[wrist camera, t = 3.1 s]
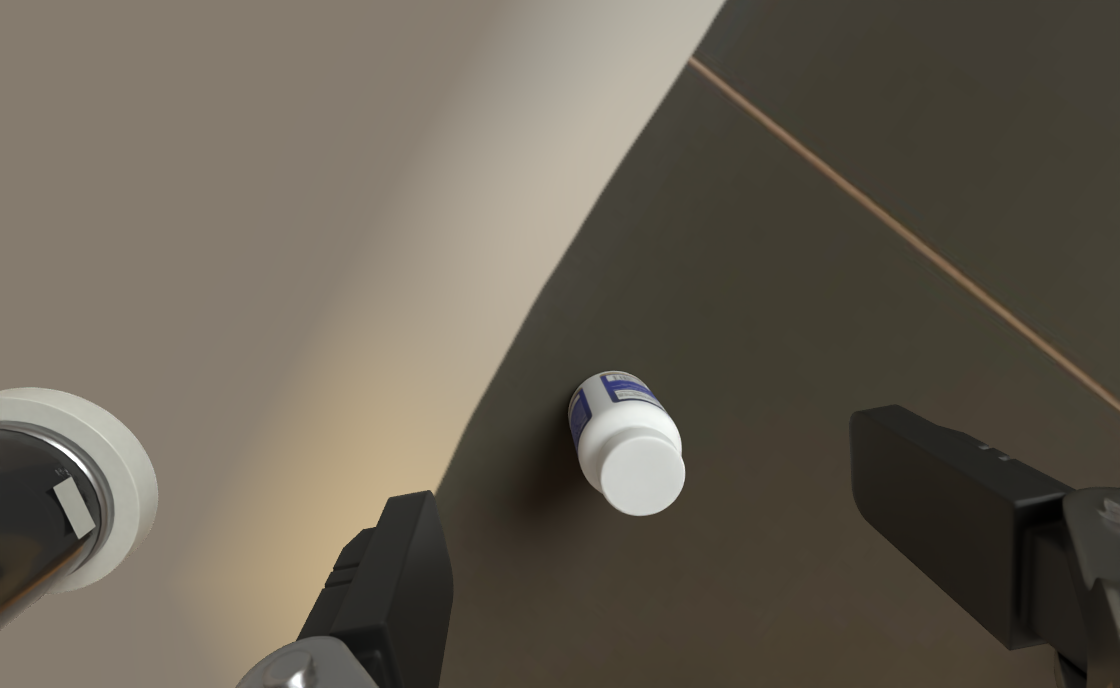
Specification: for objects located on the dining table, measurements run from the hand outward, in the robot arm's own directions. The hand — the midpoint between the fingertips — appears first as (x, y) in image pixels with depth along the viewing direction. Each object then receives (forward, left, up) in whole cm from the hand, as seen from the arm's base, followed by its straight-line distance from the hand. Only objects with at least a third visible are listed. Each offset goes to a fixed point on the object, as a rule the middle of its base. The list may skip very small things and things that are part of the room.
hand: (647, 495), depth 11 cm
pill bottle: (+2, -7, -23) cm, 24 cm away
